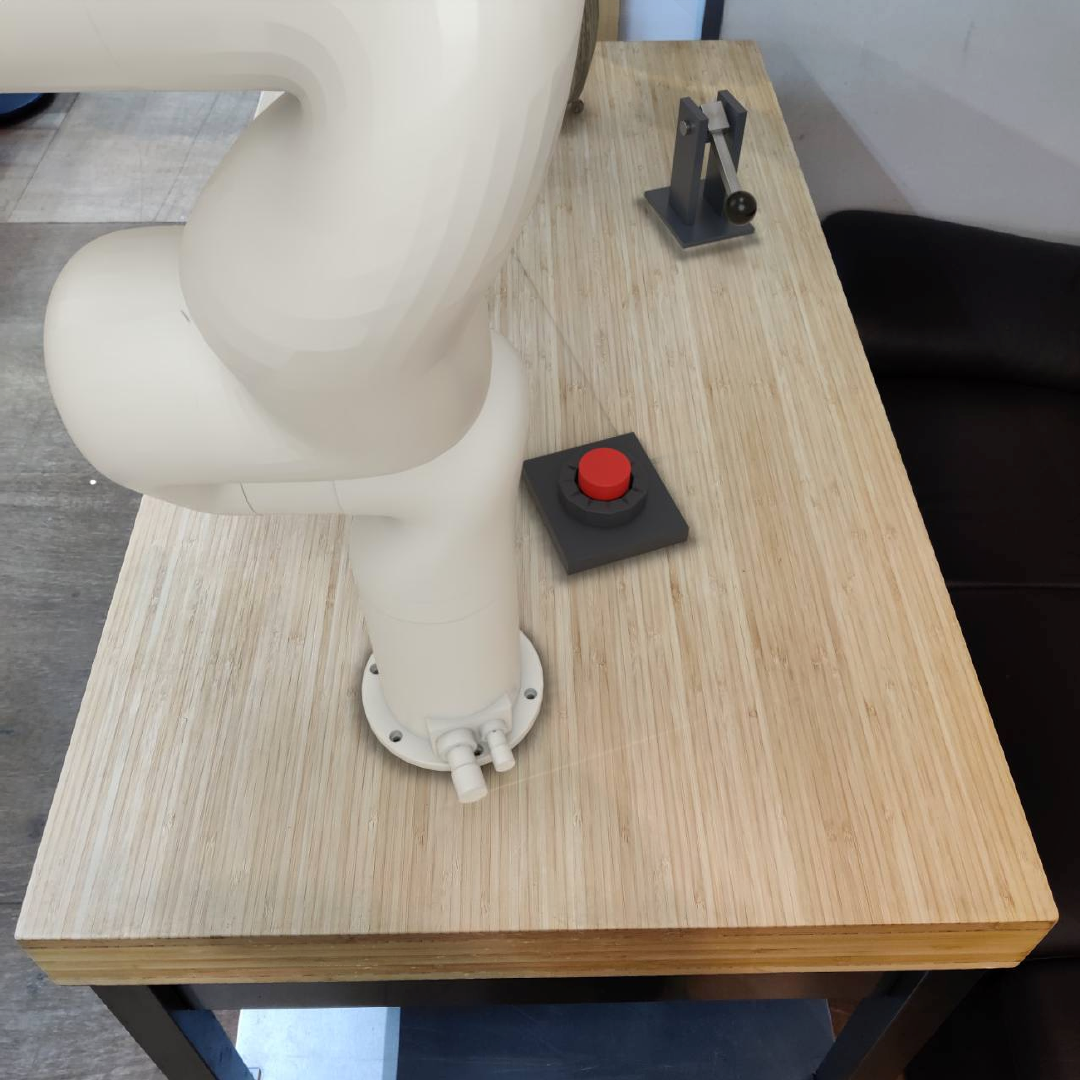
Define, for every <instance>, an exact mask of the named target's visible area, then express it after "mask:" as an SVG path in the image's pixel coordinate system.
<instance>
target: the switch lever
mask: <svg viewBox="0 0 1080 1080" xmlns="http://www.w3.org/2000/svg"><path fill="white" fill-rule="evenodd" d="M698 107H699V108H700V109H701V110H702V111H703V113H704V114H705V115H706V116H707V117H708V118H709V123H708V130H707V137H706V144H709V145H710V144H711V147H712V150H713V153H714V156H715V159H716V162H717V165H718V168H719V171H720V174H721V177H722V180H723V183H724V186H725V189H726V192H727V195H728V197H727V198H726V200H725V202H724V205H723V213H724V216H725V218H726V220H727V221H728V222H729V223H731V224H733V225H736V226H742V225H746V224H748V223H749V222H750V223H751V222H752V220H753V219H755V217H756V214H757V213H758V203H757V200H756V198H755V196H754V195H753V194H752V193H750V192H748V191H746V190H743V188H742V185H741V183H740V179H739V177H738V173H737V174H736V171H735V168H734V165H733V162H732V159H731V156H730V153H729V150H728V147H727V144H726V141H725V138H724V135H725V134H726V132H727V131H728V129H729V127H730V125H729V122H728V119H727V117H726V114H725V111H724V108H723V105H722V102H721V101H717V100H715V101H711V102H706V103H702V104H700V105H699V106H698Z"/></svg>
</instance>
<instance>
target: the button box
mask: <svg viewBox="0 0 1080 1080" xmlns="http://www.w3.org/2000/svg"><path fill="white" fill-rule="evenodd" d="M598 448H610V449H614V450H617V451H619V452H621V453H622V454H624V455H625V456H626V457H627V459H628V460H629V462H630V465H631V473H630V482H629V487H628V489H627V491H626V492H625V493H624V494H623V495H622V496H620V497H619V498H616V499H614V500H608V501H602V500H596V499H593V498H591V497H589V496H587V495H586V494H585V493H584V492H583V491H582V490H581V488H580V486H579V483H578V474H579V463H580V460H581V458H582V457H583V456H584V455H585V454H586V453H587V452H589V451H591V450H594V449H598ZM521 477H522V480H523V481H524V484H525V487H526V488H527V490H528V492H529V494H530V497H531V499H532V501H533V503H534V505H535V508H536V510H537V512H538V514H539V516H540V518H541V521H542V523H543V525H544V527H545V529H546V531H547V533H548V536H549V538H550V540H551V542H552V544H553V547H554V549H555V552H556V553H557V555H558V558H559V559H560V562H561V564H562V566H563V568H564V571H565V572H566V574H567V576H571V575H575V574H577V573H578V574H579V573H581V572H585V571H587V570H588V571H589V570H592V569H595V568H599V567H602V566H606V565H609V564H612V563H616V562H619V561H622V560H627V559H629V558H633V557H636V556H639V555H643V554H647V553H650V552H653V551H656V550H660V549H665V548H666V547H667V548H668V547H670V546H673V545H677V544H681V543H685V542H687V541H688V537H689V531H690V527H689V525H688V523H687V522H686V520H685V518H684V517H683V515H682V513H681V511H680V509H679V508H678V506H677V504H676V502H675V500H674V499H673V497H672V495H671V494H670V492H669V490H668V489H667V487H666V484H665V483H664V482H663V480H662V478H661V476H660V474H659V473H658V470H657V469H656V468H655V466H654V464H653V463H652V461H651V459H650V458H649V456H648V454H647V453H646V450H645V448H644V447H643V445H642V444H641V441H640V440H639V438H638V437H637V435H636V433H635V431H631V432H627V433H624V434H623V433H622V434H619V435H616V436H613V437H609V438H604V439H601V440H597V441H594V442H593V441H592V442H590V443H586V444H581V445H578V446H574V447H569V448H567V449H562V450H559V451H555V452H551V453H547V454H544V455H540V456H536V457H532V458H529V459H524V461H523V466H522V471H521Z"/></svg>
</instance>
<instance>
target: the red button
mask: <svg viewBox="0 0 1080 1080" xmlns="http://www.w3.org/2000/svg"><path fill="white" fill-rule="evenodd" d="M630 473H631V465H630V462H629V460H628V459H627V457H626V456H625V455H624V454H622V453H621V452H619V451H617V450H614V449H610V448H598V449H594V450H591V451H589V452H587V453H586V454H585V455H584V456H583V457H582V458H581V460H580V463H579V474H578V483H579V486H580V488H581V490H582V491H583V492H584V493H585V494H586V495H587V496H589V497H591V498H593V499H596V500H602V501H608V500H614V499H616V498H619V497H620V496H622V495H623V494H624V493H625V492H626V491H627V489H628V487H629V482H630Z"/></svg>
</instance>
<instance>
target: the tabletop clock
mask: <svg viewBox="0 0 1080 1080" xmlns="http://www.w3.org/2000/svg"><path fill="white" fill-rule="evenodd" d="M599 22H600V0H585V4H584V10H583V17H582V24H581V30H580V37H579V43H578V50H577V57H576V62H575V67H574V72H573V77H572V83H571V88H570V93H569V97H568V102H567V105H569V104H570V109H571V111H572V112H573V113H574V114H581V113H582V112H583V111H584V110H585V109H584V107H585V103H584V101H583V100H582V99H581V98H580V97H581V95H582V93H583V91H584V89H585V85H586V81H587V78H588V75H589V71H590V68H591V64H592V61H593V58H594V55H595V54H594V53H595V50H596V45H597V39H598V29H599Z"/></svg>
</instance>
